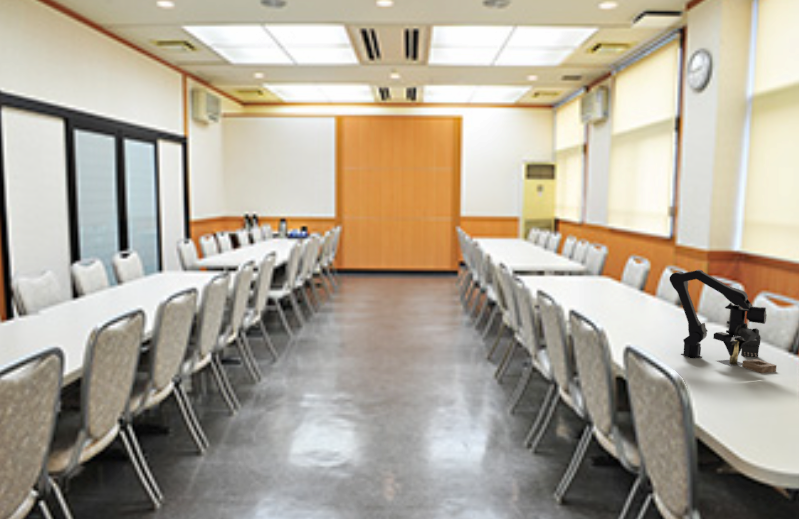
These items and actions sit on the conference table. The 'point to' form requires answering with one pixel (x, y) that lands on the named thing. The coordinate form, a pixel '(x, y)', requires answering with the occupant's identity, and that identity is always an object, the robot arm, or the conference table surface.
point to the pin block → (759, 366)
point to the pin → (735, 354)
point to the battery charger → (751, 348)
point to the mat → (729, 363)
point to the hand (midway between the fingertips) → (733, 355)
